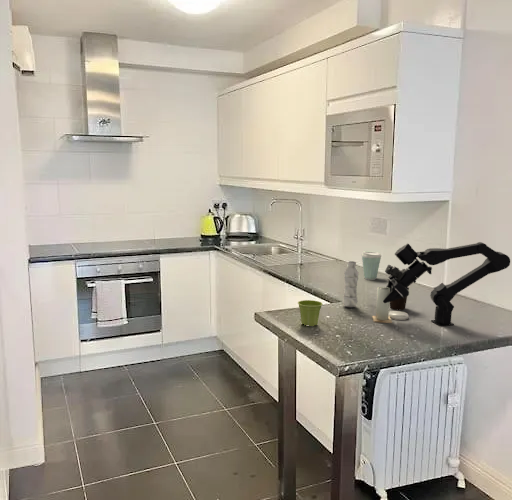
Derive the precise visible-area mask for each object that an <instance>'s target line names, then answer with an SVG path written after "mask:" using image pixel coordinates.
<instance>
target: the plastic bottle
mask: <svg viewBox="0 0 512 500" xmlns="http://www.w3.org/2000/svg"><path fill="white" fill-rule="evenodd" d="M359 275H360V274H359V271H358V269H357V262H356V261H347V268H346V269H345V271H344V273H343V277H344V278H343V280H344V290H343V291H344V292H343V297H342V305H343V306H344V307H345V308H356V306H357V305H358V294H357V293H358V292H357V291H358V288H357V287H358V281H359Z"/></svg>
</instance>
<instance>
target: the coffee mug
mask: <svg viewBox="0 0 512 500" xmlns="http://www.w3.org/2000/svg"><path fill="white" fill-rule="evenodd" d="M409 289H410V286H409V287H408V289H407V290H408V291H409ZM407 300H408V296H407V297H406V298H404V297H403V298H401V299H397V300H394V301H391V302H389V309H391V310H392V311H405V310H406V305H407Z"/></svg>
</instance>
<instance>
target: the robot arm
mask: <svg viewBox="0 0 512 500" xmlns="http://www.w3.org/2000/svg"><path fill="white" fill-rule="evenodd" d="M479 254H481V255H483V256H484V257H485V259H484V261H483V262H482V263H481V264H480V265H479V266H477V267H475V268H474V269H472V270H471V271H469V272H466V274H464V275H462V276H461V277H459V278H458V279H456V280H454V281H452V282H451V283H449V284H445V283H443V282H441V283H440V284H439V285H437V286H435V287H433V289H432V290H431V292H430V295H429V297H430V299H431V301H432V302H433V303H434V304H435V310H434V319H431V321H430V322H431V323H433V324H435V325H437V326H440V327H442V326H445V327H446V326H455V323H454V322H452V314H453V313H452V312H453V310H454V308H455V306H454V304H452V302H451V301H452V300H453V299H454V298H455V296H456V295H457V294H458V293H460V292H462V291H463V290H465V289H466V288H468V287H470V286H472V285H473V284H475V283H476V282H478V281H480V280H482V278H484V277H486V276H488V275H490V274H494V273H498V272H501V271H503V270H505V269H508V268H509V266H510V265H511V259H510V257H509V255H507V254H505V253H503V252H500V251H496V250H494V249H492V248H491V247H490V246H488V245H487V244H486V243H484V242H481V241H479V242H476V243H472V244H465V245H461V246H460V245H459V246H456V247H450V248H449V247H448V248H441V247H440V248H437V247H436V248H435V247H433V248H427V249H425V250H424V251H417V252H416V251H415V250H414V249H413V247H412V245H410V244H409V243H408V242H407V243H406V244H404V245H403V246H401V247H399V248H398V249H397V250H396V252H395V253H394V256H396V258H397V259H398V260H399V261H400V262H401V263H402V264H403V265H404V266H405V265H408V267H407V268H402V270H400V269H399V267H396V266H395V265H394V266H393V265H390V264H388V265H387V267H386V268H385V270H384V272H385V274H387V275H389V276H388V279H387V284H386V286H385V287H388V288H390V293H389V294H388V295H387V297H386V298H385V299H384V300H383V302H384V303H387V302H389V303H390V302H391V301H394V300H397V299H401V298H403V297H404V298H406V297H407V298H408V296H409V295H410V291H409V290H407V289H408V287H409V288H410V286H411V285H412V284H413V283H414V284H416V282H417V280H418V279H419V278H420V277H421V276H423V275H424V274H425V273H426V272H427V273H428V274H429V275H432V271H433V267H432V266H435V265H436V266H437V265H439V264H442V263H444V262H446V261H448V260H450V259H451V260H452V259H457V258H464V257H469V256H474V255H479ZM427 264H428V265H430V266H428V265H427Z"/></svg>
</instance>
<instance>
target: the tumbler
mask: <svg viewBox="0 0 512 500" xmlns="http://www.w3.org/2000/svg"><path fill="white" fill-rule="evenodd" d="M389 293H390V288H388V287H386V286H378V287H376V302H375V303H376V304H375V305H376V307H375V308H376V309H375V316H376V319H378V320H388V318H389V312H390V302H387V303H384V302H383V300H384V299H385V298H386V297H387V295H388V294H389Z"/></svg>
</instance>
